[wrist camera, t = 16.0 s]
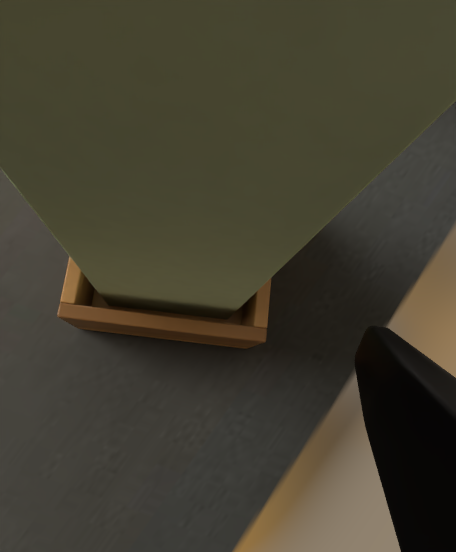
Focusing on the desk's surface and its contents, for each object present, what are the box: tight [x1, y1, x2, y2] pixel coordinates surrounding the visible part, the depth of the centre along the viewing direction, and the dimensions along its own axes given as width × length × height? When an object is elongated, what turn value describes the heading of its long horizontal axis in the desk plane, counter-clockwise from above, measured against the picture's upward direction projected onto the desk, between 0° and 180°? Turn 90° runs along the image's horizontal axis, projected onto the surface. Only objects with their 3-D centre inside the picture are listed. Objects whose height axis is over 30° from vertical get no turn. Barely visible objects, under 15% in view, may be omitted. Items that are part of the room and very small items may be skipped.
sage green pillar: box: [0, 0, 456, 320], centre depth 11 cm, size 5×5×16 cm
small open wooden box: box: [57, 256, 271, 349], centre depth 17 cm, size 7×7×4 cm
